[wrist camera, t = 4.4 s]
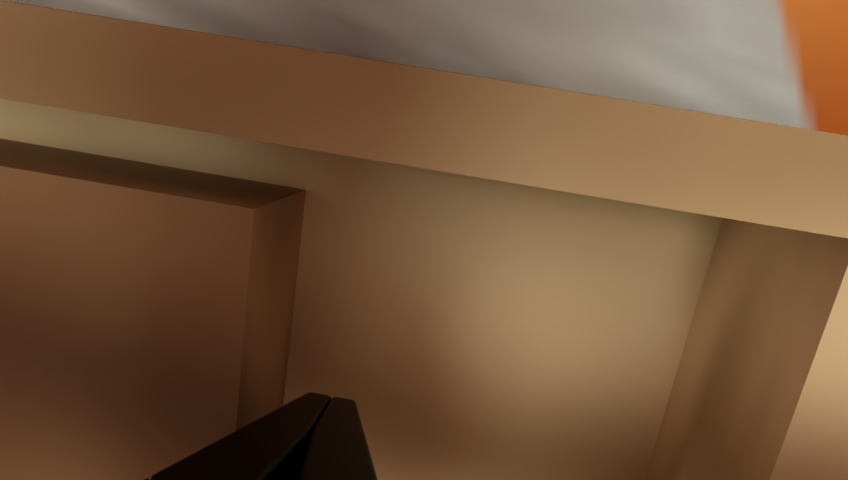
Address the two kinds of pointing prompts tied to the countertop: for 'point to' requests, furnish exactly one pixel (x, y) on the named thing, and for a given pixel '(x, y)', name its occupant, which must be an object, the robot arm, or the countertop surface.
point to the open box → (498, 250)
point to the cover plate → (136, 311)
